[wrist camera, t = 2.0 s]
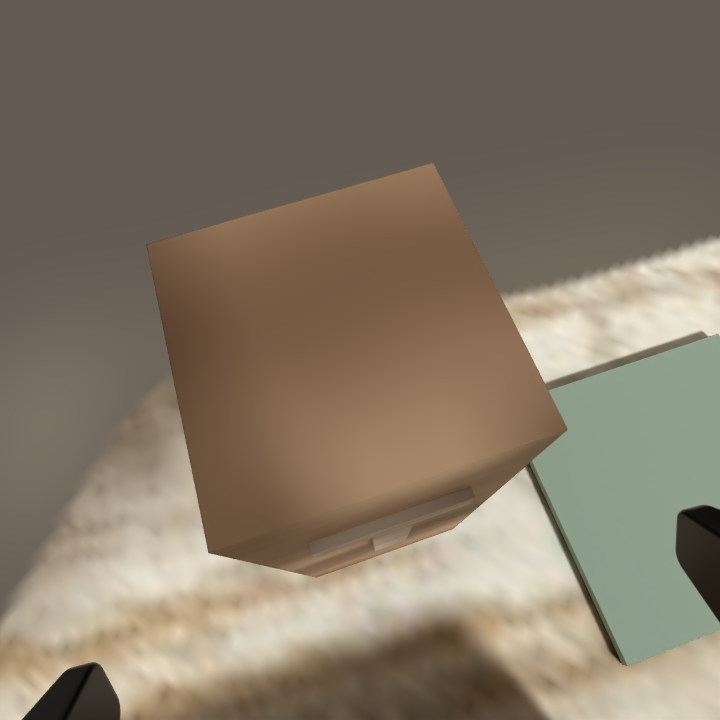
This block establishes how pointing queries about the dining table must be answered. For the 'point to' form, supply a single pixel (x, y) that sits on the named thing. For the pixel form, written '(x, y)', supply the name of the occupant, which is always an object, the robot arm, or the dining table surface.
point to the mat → (638, 490)
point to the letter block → (345, 374)
